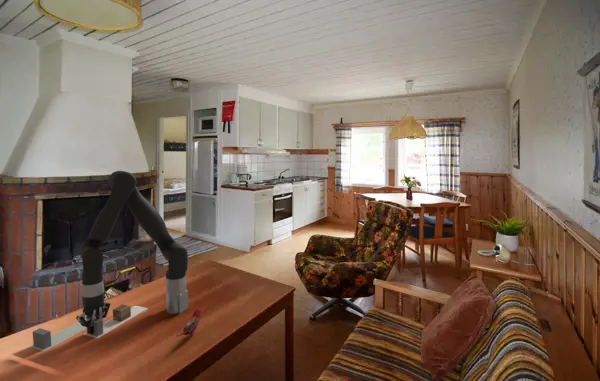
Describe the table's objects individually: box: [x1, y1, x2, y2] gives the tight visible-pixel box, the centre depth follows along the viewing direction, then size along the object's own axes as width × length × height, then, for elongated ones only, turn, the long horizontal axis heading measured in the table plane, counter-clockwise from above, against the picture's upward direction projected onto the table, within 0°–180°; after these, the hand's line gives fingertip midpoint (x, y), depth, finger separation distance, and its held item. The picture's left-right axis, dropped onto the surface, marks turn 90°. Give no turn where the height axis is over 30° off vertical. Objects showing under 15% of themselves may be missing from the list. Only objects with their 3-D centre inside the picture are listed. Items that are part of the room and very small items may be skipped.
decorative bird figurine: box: [176, 307, 202, 338], centre depth 126 cm, size 3×18×10 cm, turn 167°
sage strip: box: [29, 317, 106, 352], centre depth 127 cm, size 8×26×7 cm, turn 162°
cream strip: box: [83, 305, 149, 339], centre depth 136 cm, size 8×26×7 cm, turn 162°
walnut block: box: [112, 304, 131, 322], centre depth 138 cm, size 5×5×5 cm
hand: (95, 331), depth 126 cm, fingers closed on cream strip, 2 cm apart
